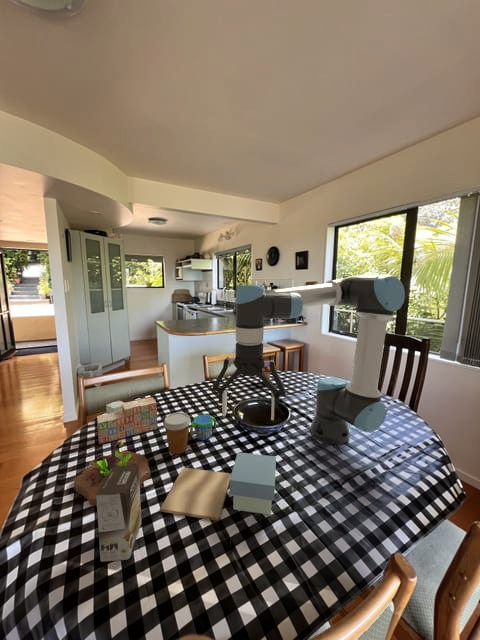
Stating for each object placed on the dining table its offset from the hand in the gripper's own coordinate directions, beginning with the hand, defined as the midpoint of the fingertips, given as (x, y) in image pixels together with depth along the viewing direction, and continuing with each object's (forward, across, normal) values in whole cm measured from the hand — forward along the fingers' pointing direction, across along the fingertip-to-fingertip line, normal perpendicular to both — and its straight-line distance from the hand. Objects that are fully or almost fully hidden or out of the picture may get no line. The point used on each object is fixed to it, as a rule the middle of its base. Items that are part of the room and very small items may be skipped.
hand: (248, 416), depth 74 cm
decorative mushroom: (+23, -3, -83) cm, 86 cm away
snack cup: (+23, +20, -24) cm, 39 cm away
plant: (+24, +41, +1) cm, 48 cm away
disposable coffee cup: (+23, +27, -16) cm, 39 cm away
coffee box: (+24, +27, +19) cm, 41 cm away
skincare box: (+24, +62, -32) cm, 73 cm away
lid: (+18, -2, +2) cm, 18 cm away
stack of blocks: (+24, +50, -22) cm, 60 cm away
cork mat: (+23, +14, +3) cm, 27 cm away
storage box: (+23, -2, +2) cm, 23 cm away
